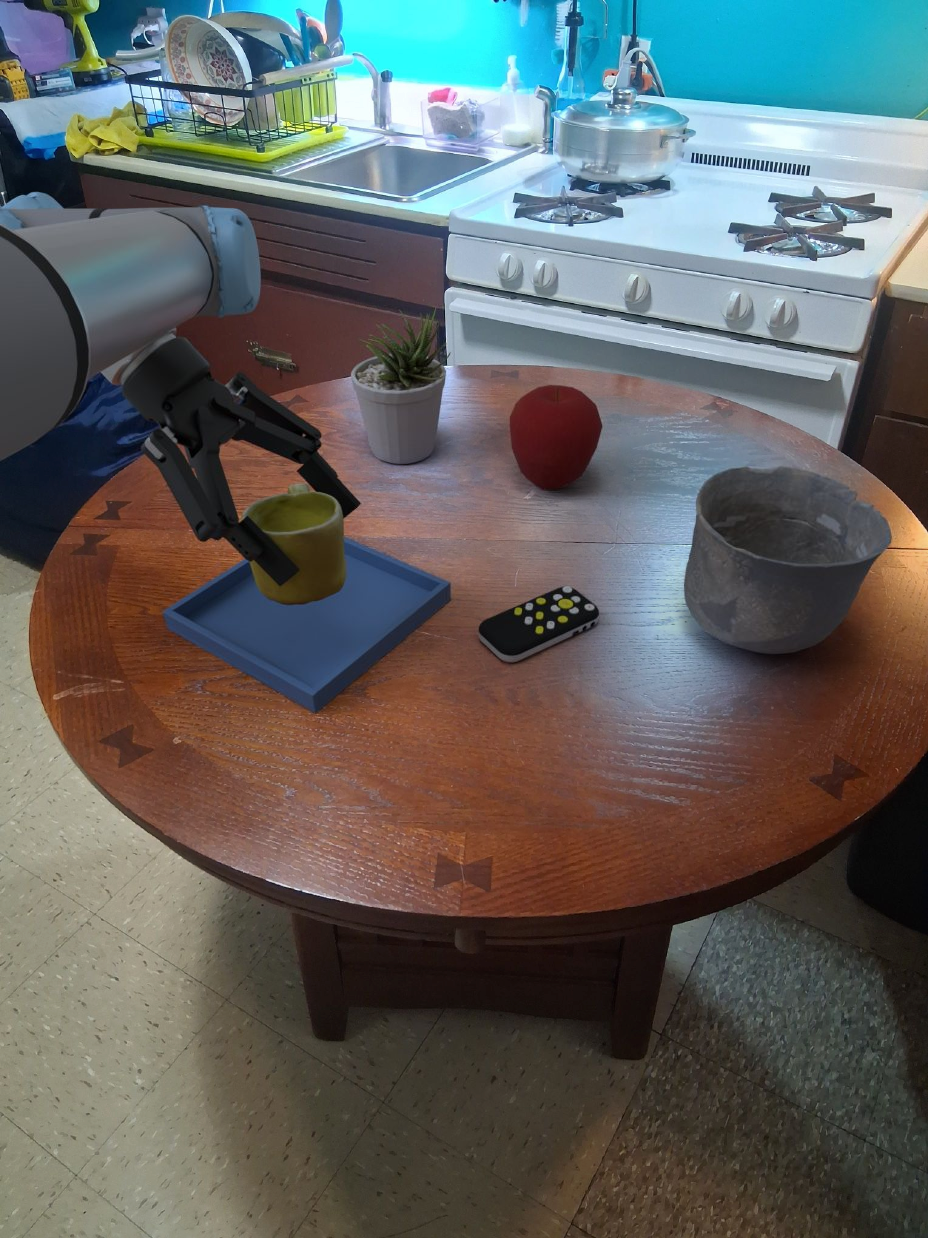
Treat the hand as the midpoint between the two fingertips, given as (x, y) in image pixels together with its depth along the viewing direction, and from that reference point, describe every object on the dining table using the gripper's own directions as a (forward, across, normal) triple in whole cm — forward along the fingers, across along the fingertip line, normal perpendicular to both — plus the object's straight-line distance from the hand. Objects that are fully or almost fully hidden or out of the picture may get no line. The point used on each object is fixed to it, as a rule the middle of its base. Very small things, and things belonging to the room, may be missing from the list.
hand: (322, 543), depth 82 cm
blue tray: (+6, -4, -12) cm, 14 cm away
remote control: (+22, -10, +4) cm, 25 cm away
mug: (+1, 0, -5) cm, 5 cm away
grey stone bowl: (+38, -18, +20) cm, 46 cm away
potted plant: (+2, -40, -17) cm, 44 cm away
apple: (+17, -40, -2) cm, 43 cm away
